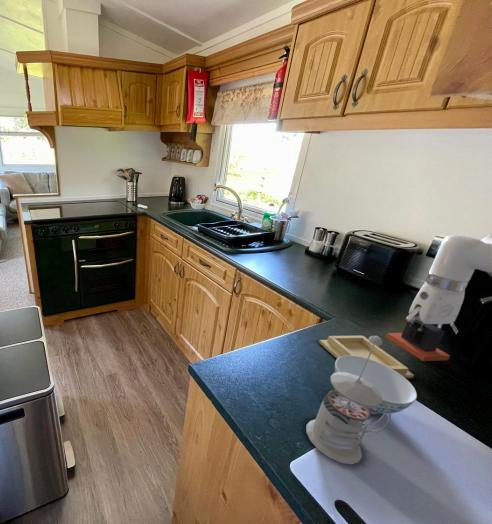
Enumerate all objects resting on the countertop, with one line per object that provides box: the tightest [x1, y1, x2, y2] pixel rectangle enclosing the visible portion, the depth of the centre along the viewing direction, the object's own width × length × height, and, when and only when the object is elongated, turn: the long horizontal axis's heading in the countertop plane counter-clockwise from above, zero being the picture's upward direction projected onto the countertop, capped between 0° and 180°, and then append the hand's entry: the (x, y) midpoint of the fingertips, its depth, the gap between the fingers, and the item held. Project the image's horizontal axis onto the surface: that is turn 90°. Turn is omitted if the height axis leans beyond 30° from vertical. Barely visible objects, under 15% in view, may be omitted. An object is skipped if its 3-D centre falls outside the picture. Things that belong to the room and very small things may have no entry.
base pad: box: [318, 335, 415, 379], centre depth 84 cm, size 16×16×3 cm
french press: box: [305, 335, 392, 465], centre depth 54 cm, size 10×12×25 cm
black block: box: [385, 321, 451, 362], centre depth 82 cm, size 8×11×8 cm
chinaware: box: [334, 355, 418, 415], centre depth 67 cm, size 15×15×8 cm
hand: (418, 340), depth 83 cm, fingers closed on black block, 3 cm apart
